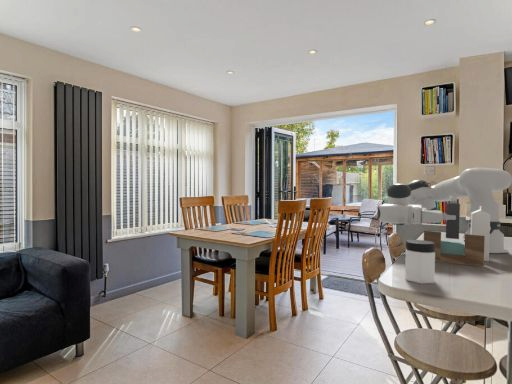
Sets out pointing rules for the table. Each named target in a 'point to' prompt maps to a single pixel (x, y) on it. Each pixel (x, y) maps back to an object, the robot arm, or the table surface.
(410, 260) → the jar
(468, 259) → the brown notched panel
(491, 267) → the table surface
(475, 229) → the milk
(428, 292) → the table surface
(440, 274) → the table surface
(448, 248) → the teal block
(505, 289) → the table surface
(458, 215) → the grey capped bottle
